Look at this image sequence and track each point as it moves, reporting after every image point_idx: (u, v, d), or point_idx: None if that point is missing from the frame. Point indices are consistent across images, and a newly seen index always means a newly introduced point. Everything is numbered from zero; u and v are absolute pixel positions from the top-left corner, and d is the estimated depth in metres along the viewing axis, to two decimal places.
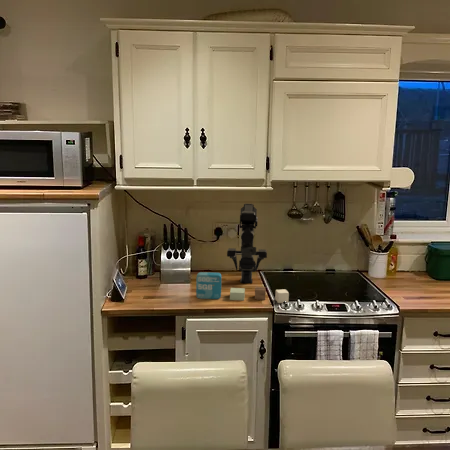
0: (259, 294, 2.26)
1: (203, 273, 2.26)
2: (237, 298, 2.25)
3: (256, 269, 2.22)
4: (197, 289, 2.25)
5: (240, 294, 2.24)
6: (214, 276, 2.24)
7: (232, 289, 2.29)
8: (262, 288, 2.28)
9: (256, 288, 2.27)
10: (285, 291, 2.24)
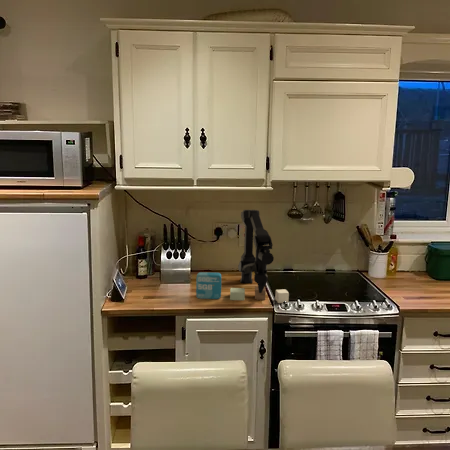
0: (259, 294, 2.26)
1: (203, 273, 2.26)
2: (237, 298, 2.25)
3: None
4: (197, 289, 2.25)
5: (240, 294, 2.24)
6: (214, 276, 2.24)
7: (232, 289, 2.29)
8: None
9: (256, 288, 2.27)
10: (285, 291, 2.24)
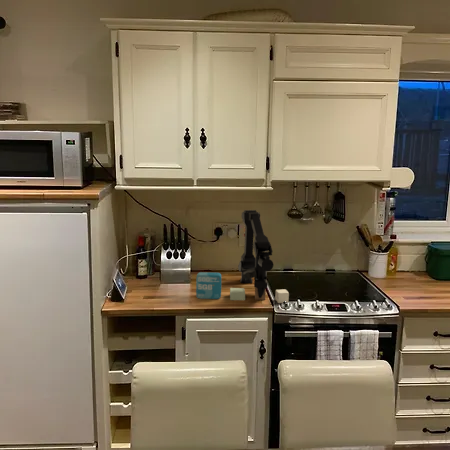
0: None
1: (203, 273, 2.26)
2: (238, 298, 2.25)
3: None
4: (197, 289, 2.25)
5: (240, 294, 2.24)
6: (214, 276, 2.24)
7: (232, 289, 2.28)
8: None
9: (256, 288, 2.27)
10: (285, 291, 2.24)
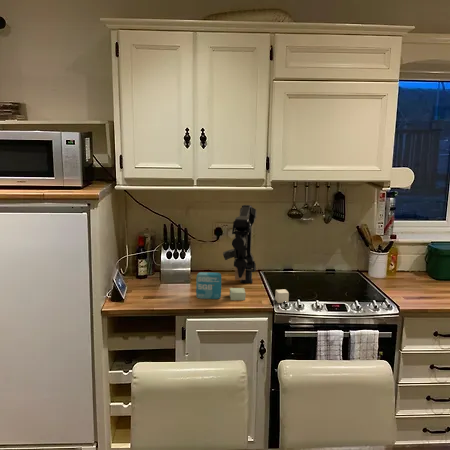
0: None
1: (203, 273, 2.26)
2: (238, 298, 2.25)
3: None
4: (197, 289, 2.25)
5: (241, 294, 2.24)
6: (214, 276, 2.24)
7: (232, 289, 2.28)
8: None
9: (236, 268, 2.25)
10: (285, 291, 2.24)
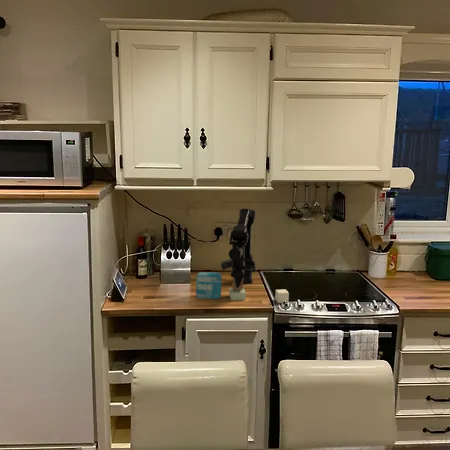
0: None
1: (203, 273, 2.26)
2: (238, 298, 2.25)
3: (236, 285, 2.24)
4: (197, 289, 2.25)
5: (241, 294, 2.24)
6: (214, 276, 2.24)
7: (232, 289, 2.28)
8: None
9: (234, 278, 2.26)
10: (285, 291, 2.24)
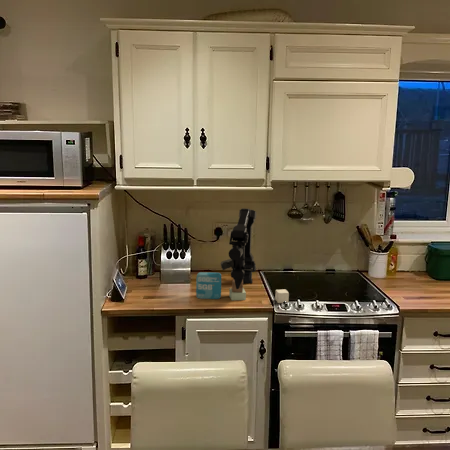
0: None
1: (203, 273, 2.26)
2: (239, 298, 2.25)
3: None
4: (197, 289, 2.25)
5: (241, 294, 2.24)
6: (214, 276, 2.24)
7: None
8: None
9: (233, 280, 2.26)
10: (285, 291, 2.24)
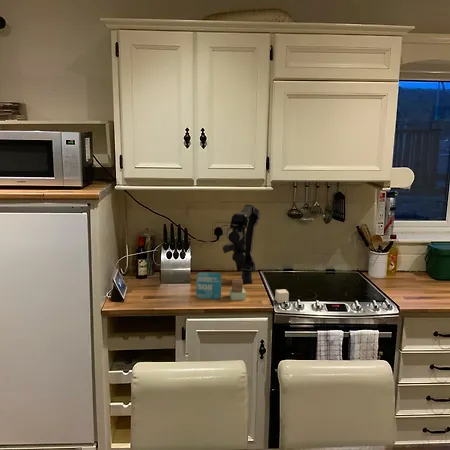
0: (236, 286, 2.25)
1: (203, 273, 2.26)
2: (239, 298, 2.25)
3: (237, 269, 2.31)
4: (197, 289, 2.25)
5: (241, 294, 2.24)
6: (214, 276, 2.24)
7: None
8: (239, 280, 2.26)
9: (233, 280, 2.26)
10: (285, 291, 2.24)
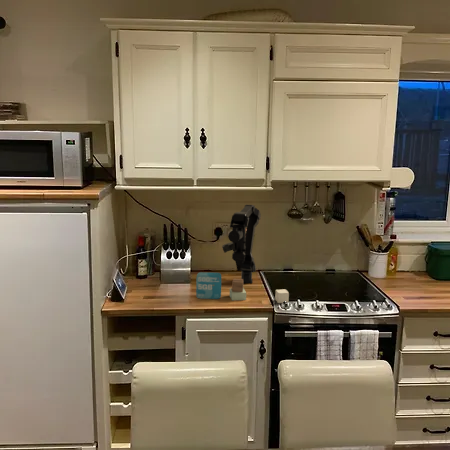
0: (236, 286, 2.25)
1: (203, 273, 2.26)
2: (239, 298, 2.25)
3: (237, 269, 2.31)
4: (197, 289, 2.25)
5: (242, 294, 2.24)
6: (214, 276, 2.24)
7: None
8: (240, 280, 2.27)
9: (234, 280, 2.27)
10: (285, 291, 2.24)
